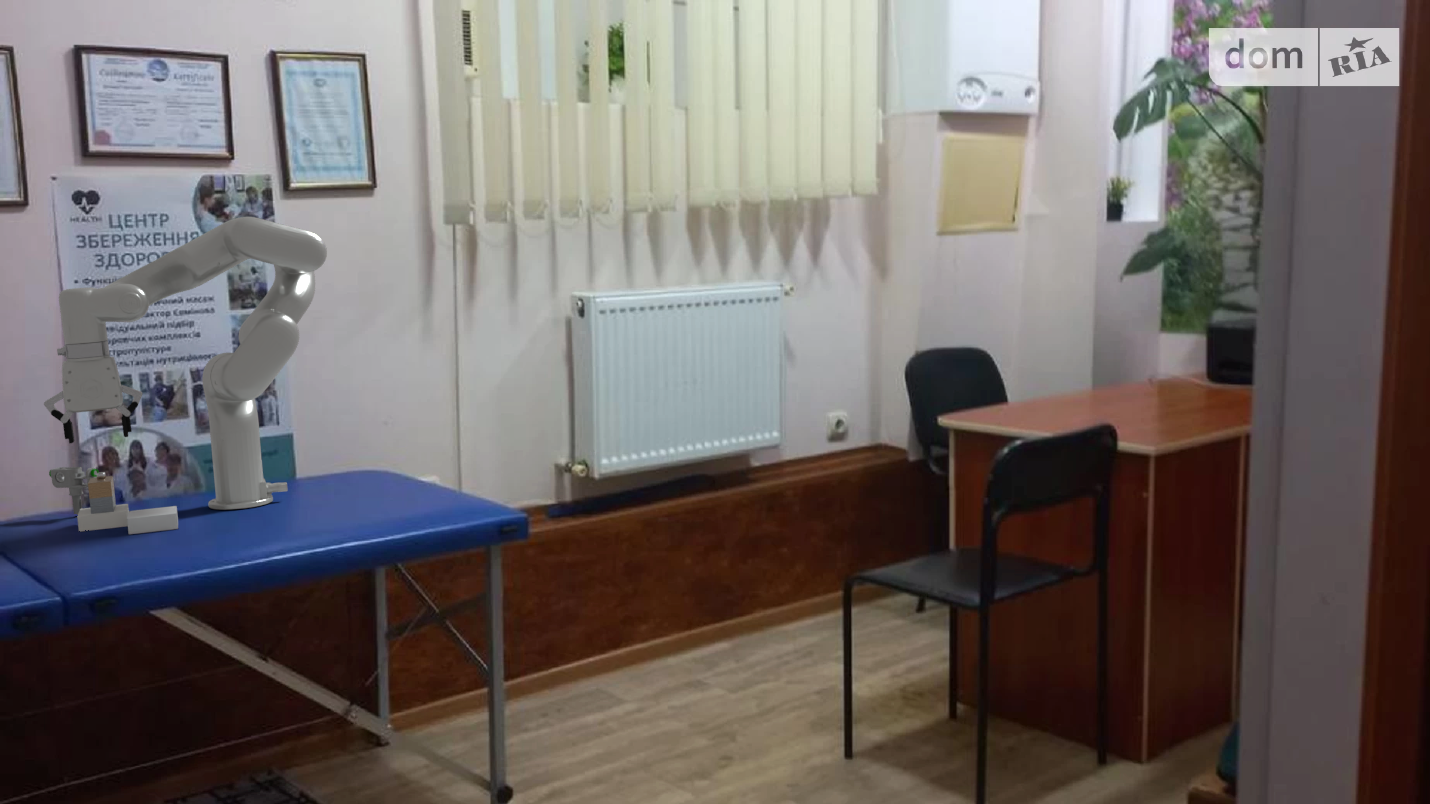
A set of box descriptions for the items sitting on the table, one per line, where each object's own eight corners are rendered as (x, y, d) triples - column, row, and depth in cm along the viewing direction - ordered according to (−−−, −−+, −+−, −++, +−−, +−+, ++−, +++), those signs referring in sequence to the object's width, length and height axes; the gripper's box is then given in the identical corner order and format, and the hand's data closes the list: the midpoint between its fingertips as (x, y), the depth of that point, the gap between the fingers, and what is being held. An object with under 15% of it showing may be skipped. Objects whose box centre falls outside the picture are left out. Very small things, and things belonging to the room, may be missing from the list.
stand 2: (178, 520, 252) (176, 505, 252) (178, 528, 244) (176, 513, 244) (130, 526, 249) (128, 511, 249) (128, 534, 241) (127, 518, 241)
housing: (113, 511, 249) (110, 476, 248) (91, 514, 247) (87, 478, 246) (115, 505, 255) (112, 471, 254) (93, 508, 254) (90, 473, 253)
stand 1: (129, 518, 257) (128, 503, 257) (128, 526, 249) (126, 511, 249) (81, 523, 254) (80, 508, 254) (78, 531, 246) (77, 516, 246)
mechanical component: (95, 518, 259) (90, 469, 258) (51, 518, 261) (46, 469, 260) (105, 514, 262) (100, 466, 261) (61, 515, 264) (56, 467, 263)
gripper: (35, 357, 241) (48, 447, 243) (136, 348, 247) (147, 436, 250) (39, 355, 248) (51, 442, 250) (137, 346, 254) (147, 431, 257)
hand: (99, 439), depth 250 cm, fingers open, 9 cm apart
